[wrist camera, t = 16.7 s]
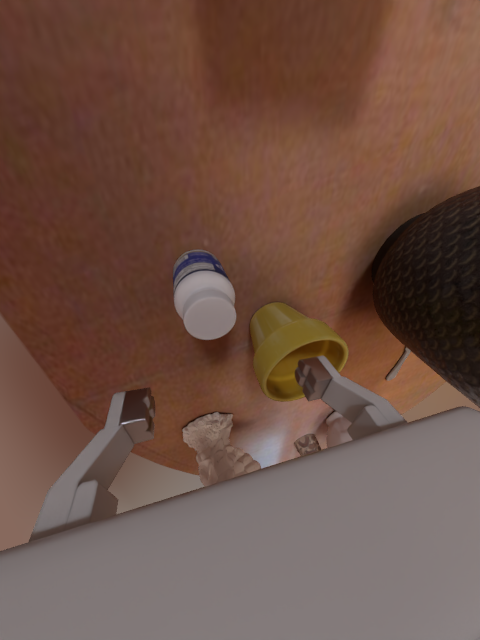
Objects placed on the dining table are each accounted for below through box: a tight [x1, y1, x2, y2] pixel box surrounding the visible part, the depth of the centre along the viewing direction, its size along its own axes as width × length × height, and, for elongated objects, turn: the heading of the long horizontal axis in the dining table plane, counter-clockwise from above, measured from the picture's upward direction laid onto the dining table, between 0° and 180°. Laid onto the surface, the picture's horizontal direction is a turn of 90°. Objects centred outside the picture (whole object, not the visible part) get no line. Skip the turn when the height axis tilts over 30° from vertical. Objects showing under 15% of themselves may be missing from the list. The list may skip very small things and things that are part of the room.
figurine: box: [295, 434, 321, 456], centre depth 60 cm, size 7×7×12 cm
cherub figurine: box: [182, 412, 261, 487], centre depth 35 cm, size 13×12×20 cm
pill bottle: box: [173, 250, 236, 340], centre depth 18 cm, size 5×5×9 cm
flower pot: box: [250, 302, 348, 402], centre depth 25 cm, size 10×10×10 cm
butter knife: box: [386, 347, 411, 380], centre depth 46 cm, size 1×24×3 cm
